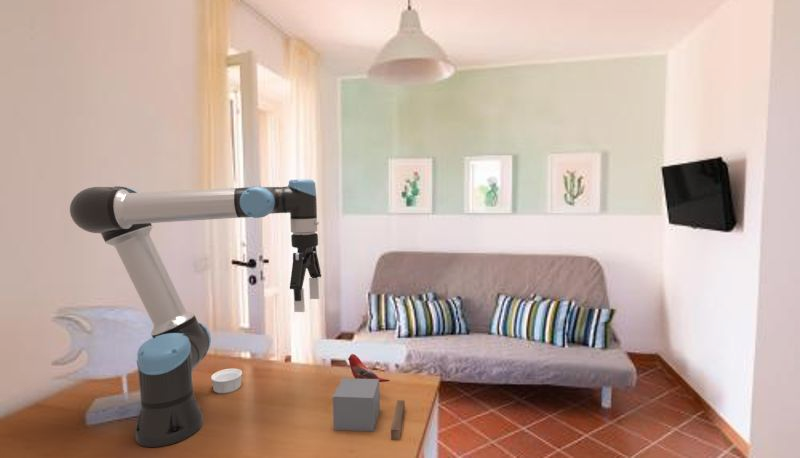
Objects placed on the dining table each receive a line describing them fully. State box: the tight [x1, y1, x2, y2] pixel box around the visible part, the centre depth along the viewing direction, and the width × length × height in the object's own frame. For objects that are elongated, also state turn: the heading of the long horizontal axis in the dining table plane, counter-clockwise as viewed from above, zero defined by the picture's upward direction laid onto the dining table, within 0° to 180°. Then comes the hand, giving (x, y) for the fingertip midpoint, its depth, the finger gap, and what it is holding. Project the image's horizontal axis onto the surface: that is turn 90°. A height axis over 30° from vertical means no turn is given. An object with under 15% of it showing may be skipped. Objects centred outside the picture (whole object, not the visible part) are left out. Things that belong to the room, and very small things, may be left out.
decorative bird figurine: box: [347, 353, 391, 383], centre depth 125 cm, size 3×18×10 cm, turn 49°
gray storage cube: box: [332, 377, 381, 432], centre depth 110 cm, size 10×10×9 cm
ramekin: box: [210, 368, 243, 394], centre depth 130 cm, size 9×9×4 cm
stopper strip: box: [390, 399, 406, 441], centre depth 108 cm, size 2×14×2 cm, turn 174°
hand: (307, 304), depth 123 cm, fingers open, 13 cm apart
